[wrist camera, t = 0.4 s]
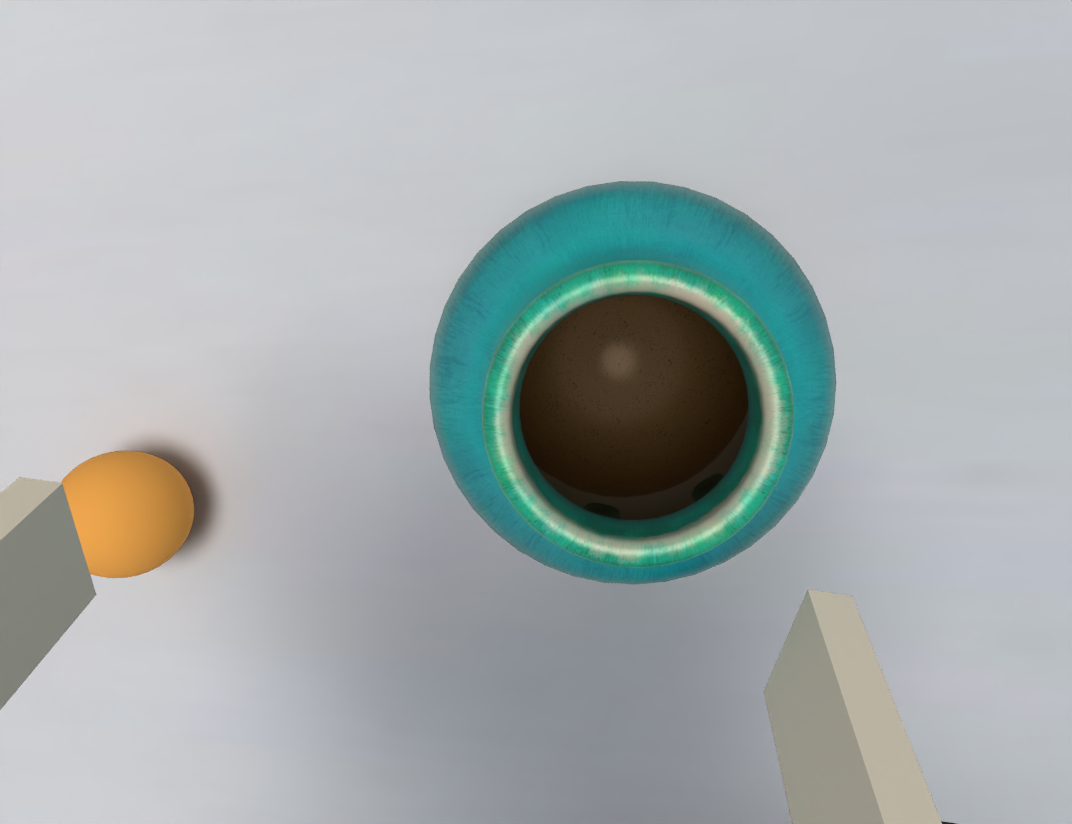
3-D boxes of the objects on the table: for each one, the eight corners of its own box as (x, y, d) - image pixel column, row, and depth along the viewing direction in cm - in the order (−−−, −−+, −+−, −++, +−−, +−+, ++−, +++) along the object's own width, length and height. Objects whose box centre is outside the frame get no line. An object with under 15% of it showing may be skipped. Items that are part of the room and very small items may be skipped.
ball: (215, 561, 34) (140, 607, 29) (107, 545, 34) (13, 587, 29) (221, 448, 33) (145, 473, 28) (110, 434, 34) (14, 455, 28)
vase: (460, 418, 32) (245, 560, 13) (557, 194, 30) (472, -18, 11) (677, 518, 31) (781, 814, 13) (787, 296, 30) (1098, 252, 11)
